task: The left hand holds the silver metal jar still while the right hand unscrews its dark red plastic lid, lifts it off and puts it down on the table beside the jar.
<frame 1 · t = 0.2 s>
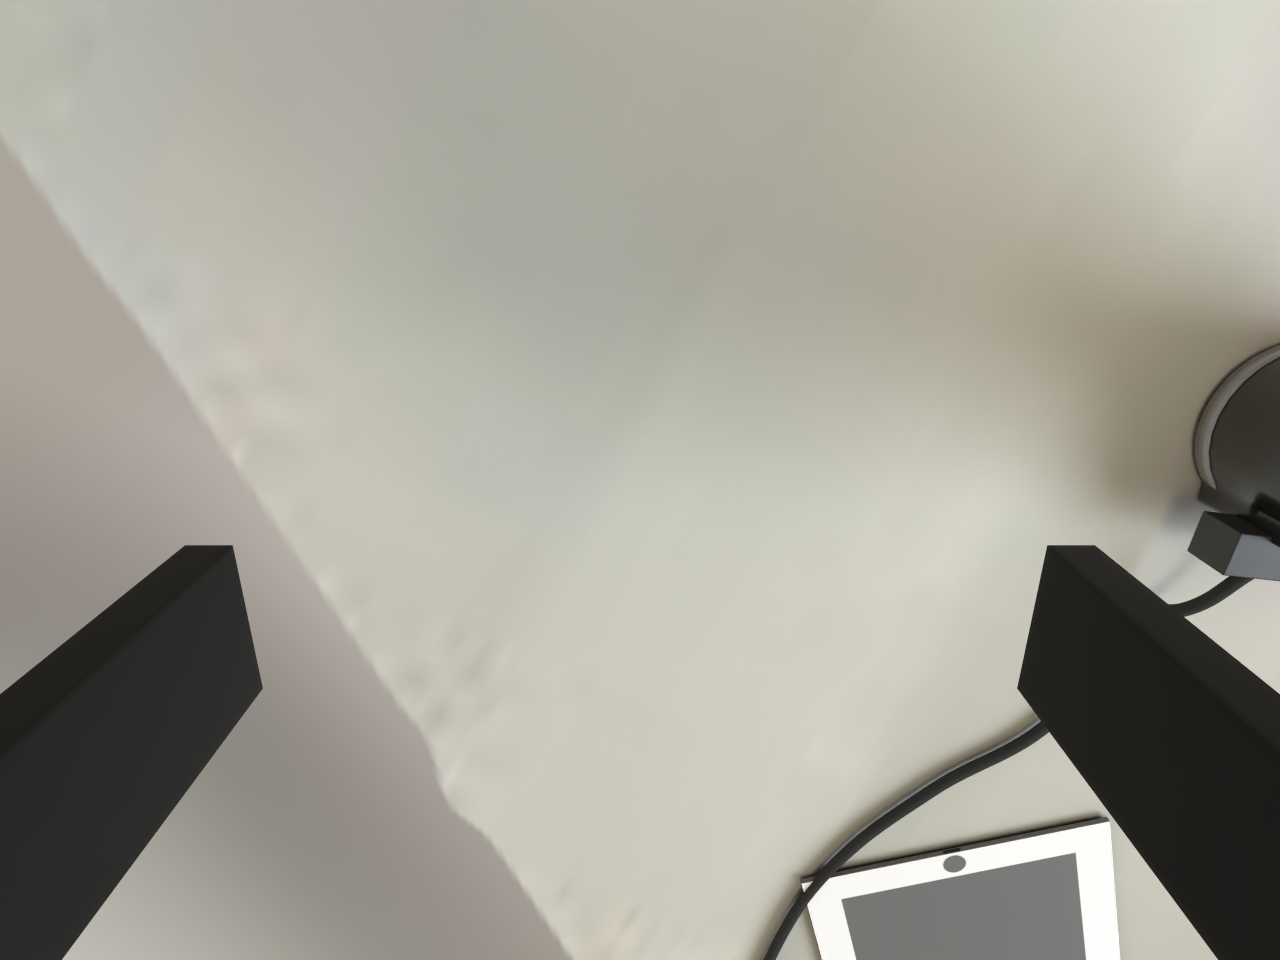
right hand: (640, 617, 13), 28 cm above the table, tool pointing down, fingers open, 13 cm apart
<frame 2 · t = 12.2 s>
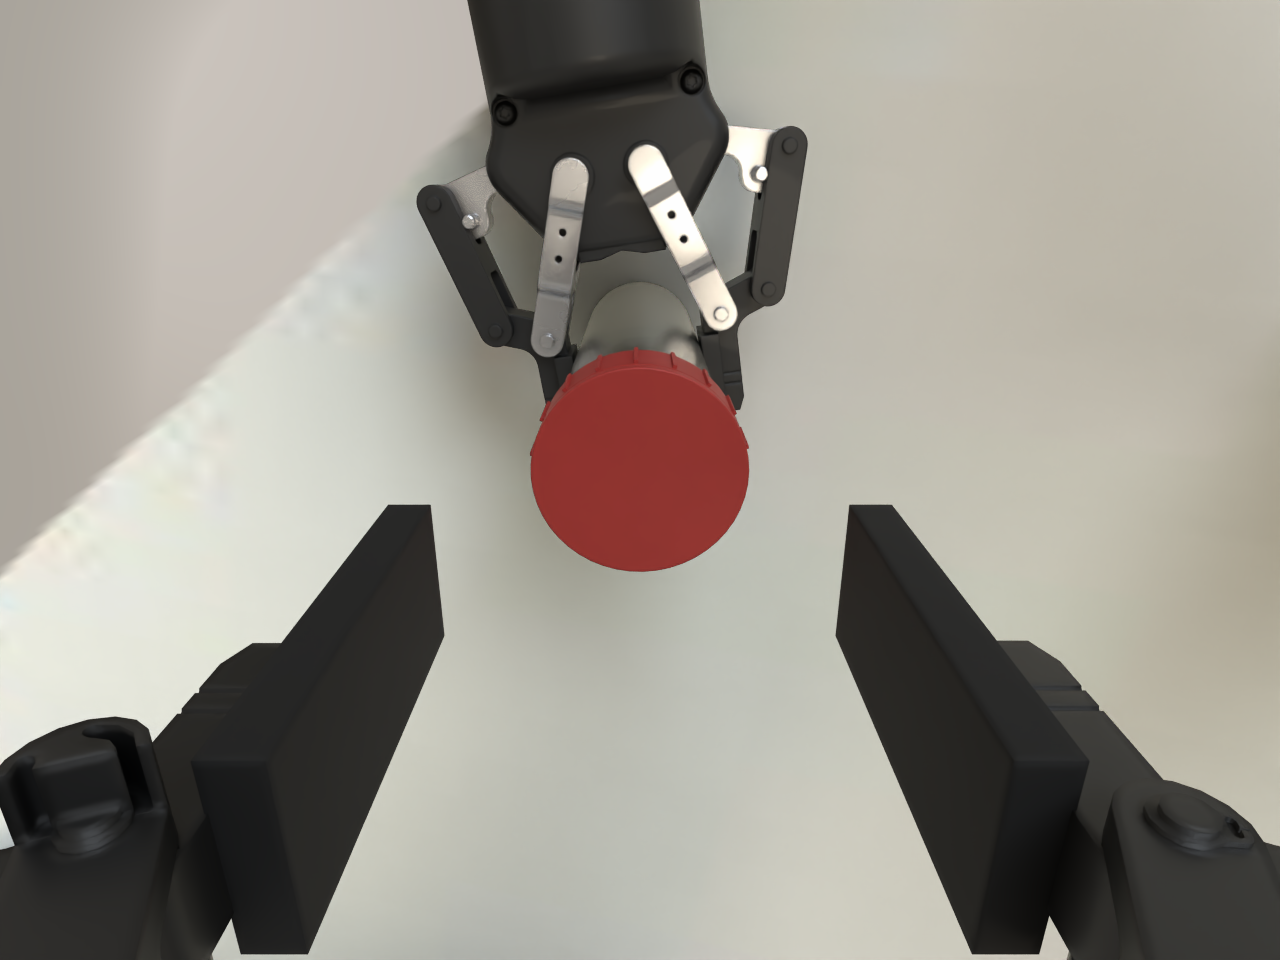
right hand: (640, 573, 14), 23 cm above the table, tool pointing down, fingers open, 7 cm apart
left hand: (650, 429, 31), fingers closed on jar, 5 cm apart
lid: (639, 470, 19), point 18 cm above the table, screwed on, not yet turned
jar: (639, 335, 36), on the table, touching left hand
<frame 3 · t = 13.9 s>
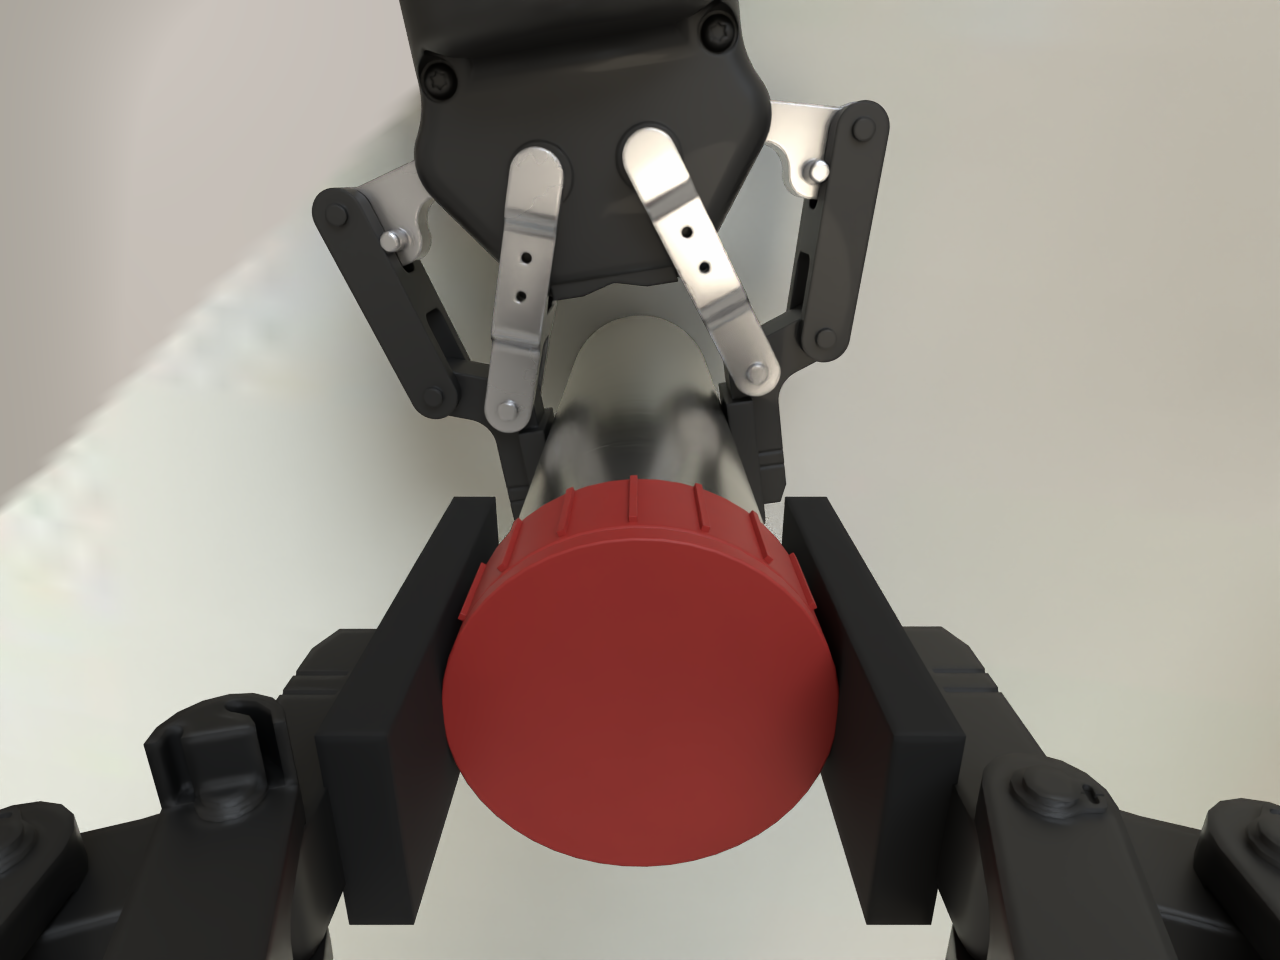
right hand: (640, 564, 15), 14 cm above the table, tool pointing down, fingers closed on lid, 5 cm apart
left hand: (654, 525, 22), fingers closed on jar, 5 cm apart
lid: (640, 702, 11), point 18 cm above the table, screwed on, not yet turned, touching right hand
jar: (640, 384, 27), on the table, touching left hand
when the right hand's fingers open (14 cm above the table, at t = 15.1 s): lid stays where it is, point 18 cm above the table.
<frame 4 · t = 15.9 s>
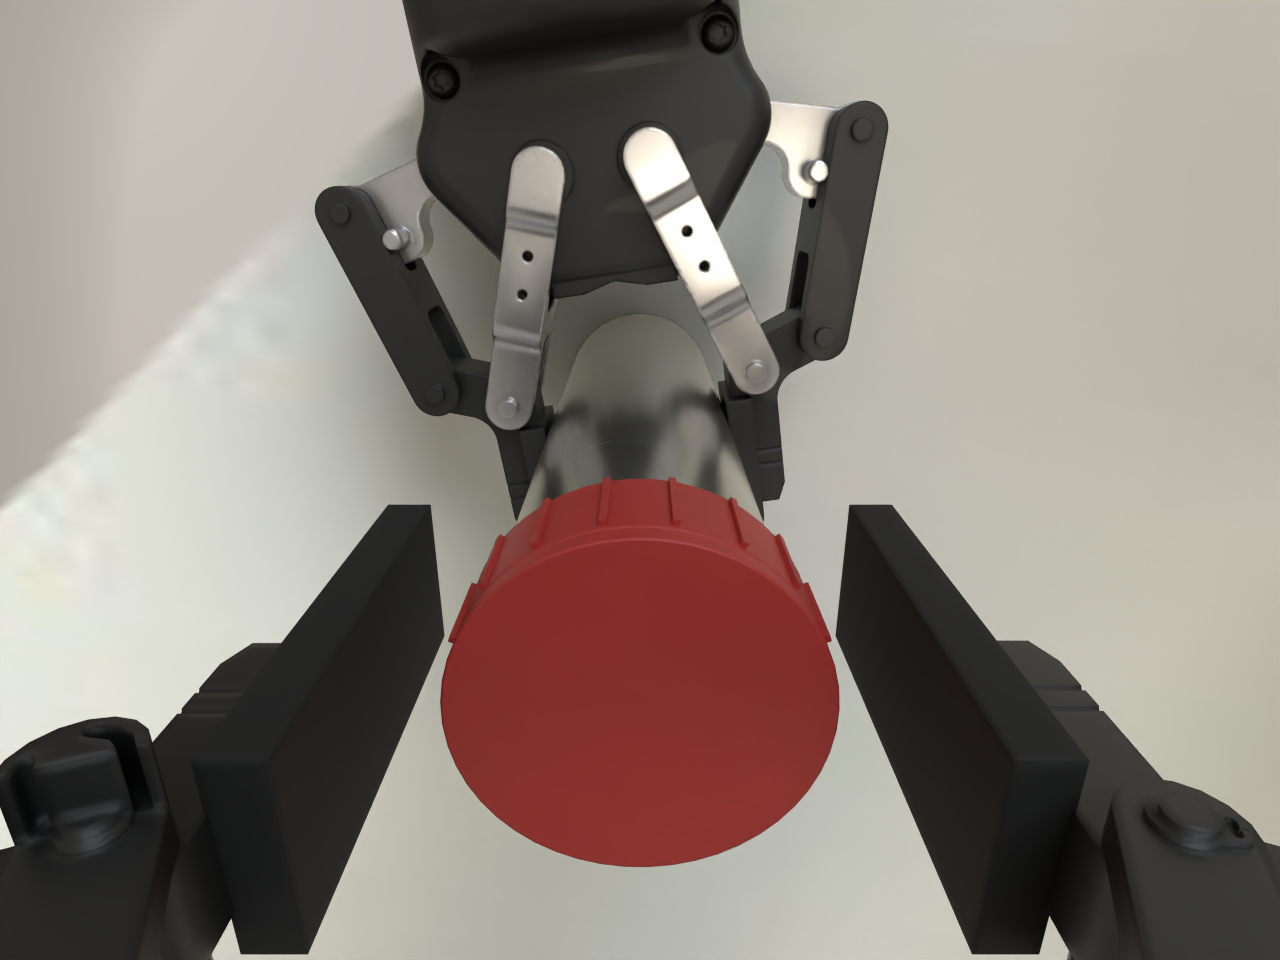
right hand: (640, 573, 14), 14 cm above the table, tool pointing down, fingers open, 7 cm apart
left hand: (654, 522, 23), fingers closed on jar, 5 cm apart
lid: (639, 702, 11), point 18 cm above the table, turned 68° so far, risen 0.2 cm, still on its thread
jar: (640, 382, 28), on the table, touching left hand
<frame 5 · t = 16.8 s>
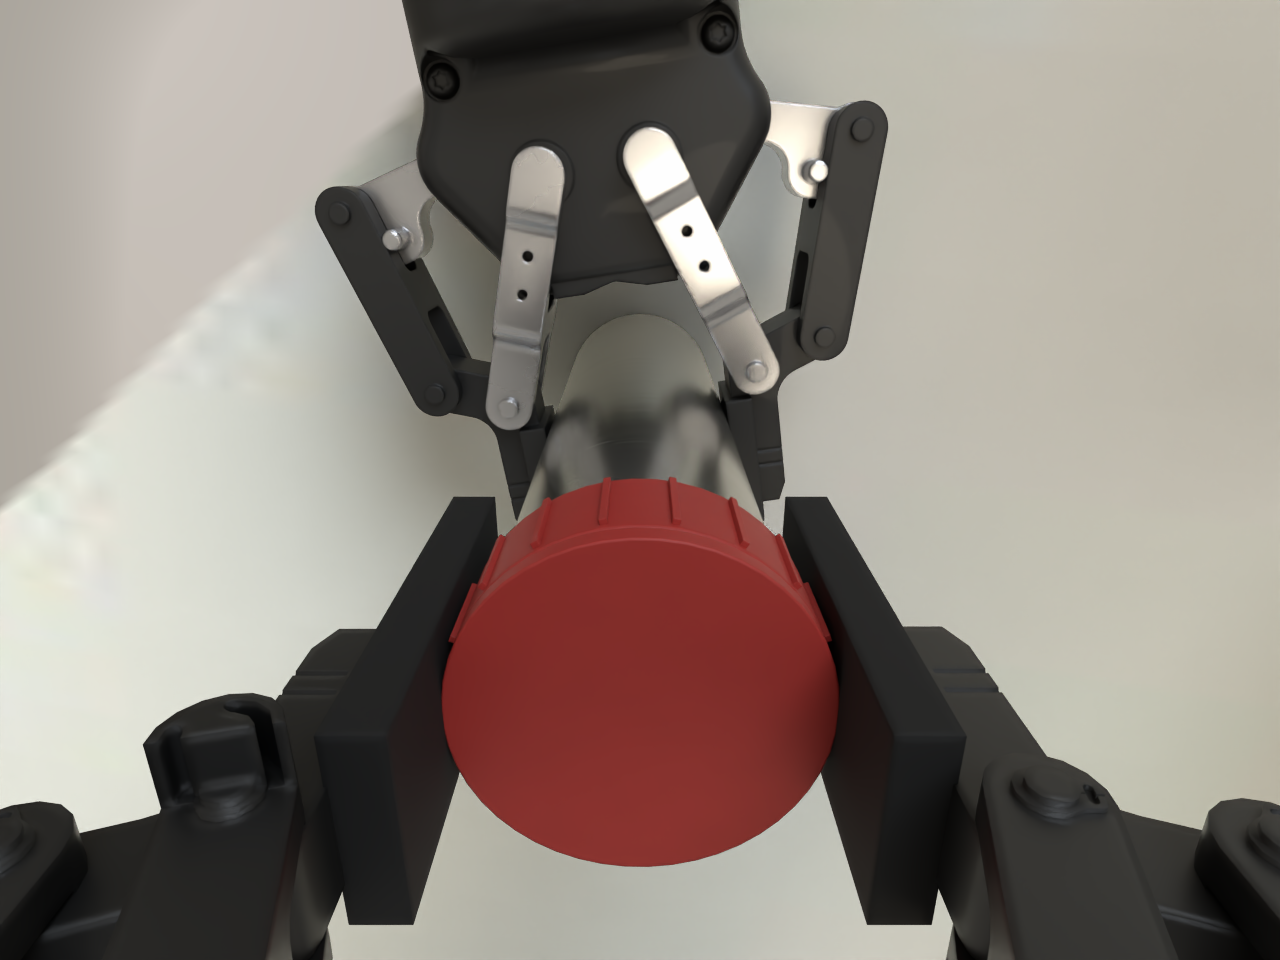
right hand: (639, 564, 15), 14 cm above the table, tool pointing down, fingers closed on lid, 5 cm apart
left hand: (654, 522, 23), fingers closed on jar, 5 cm apart
lid: (640, 702, 11), point 18 cm above the table, turned 68° so far, risen 0.2 cm, still on its thread, touching right hand
jar: (640, 382, 28), on the table, touching left hand
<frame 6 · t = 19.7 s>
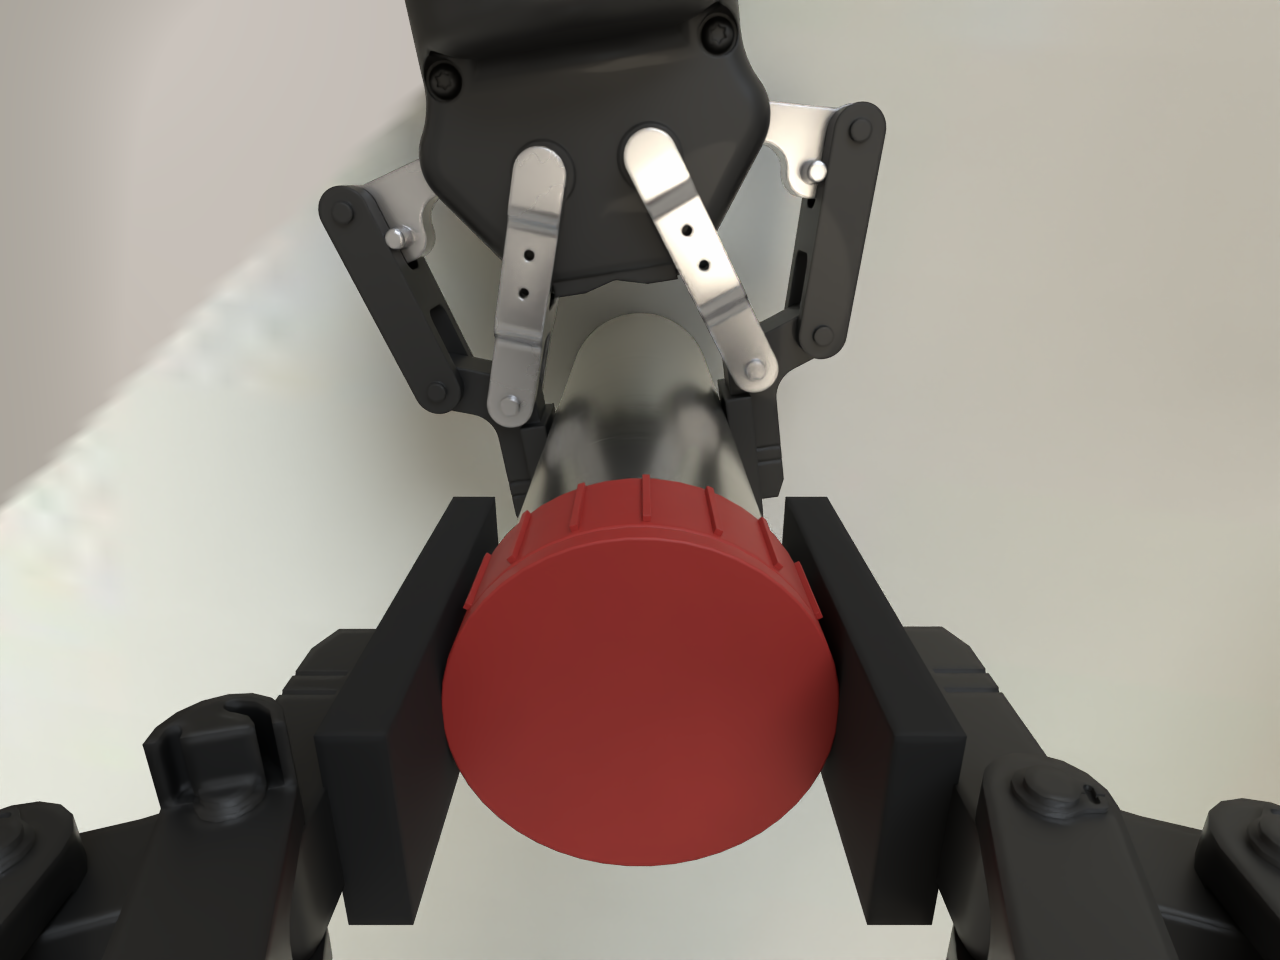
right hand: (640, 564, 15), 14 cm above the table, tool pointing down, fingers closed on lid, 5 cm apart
left hand: (654, 519, 23), fingers closed on jar, 5 cm apart
lid: (640, 701, 11), point 18 cm above the table, turned 136° so far, risen 0.4 cm, still on its thread, touching right hand
jar: (640, 381, 28), on the table, touching left hand
when the right hand's fingers open (0 cm above the table, at t = 26.4 s): lid stays where it is, point 2 cm above the table.
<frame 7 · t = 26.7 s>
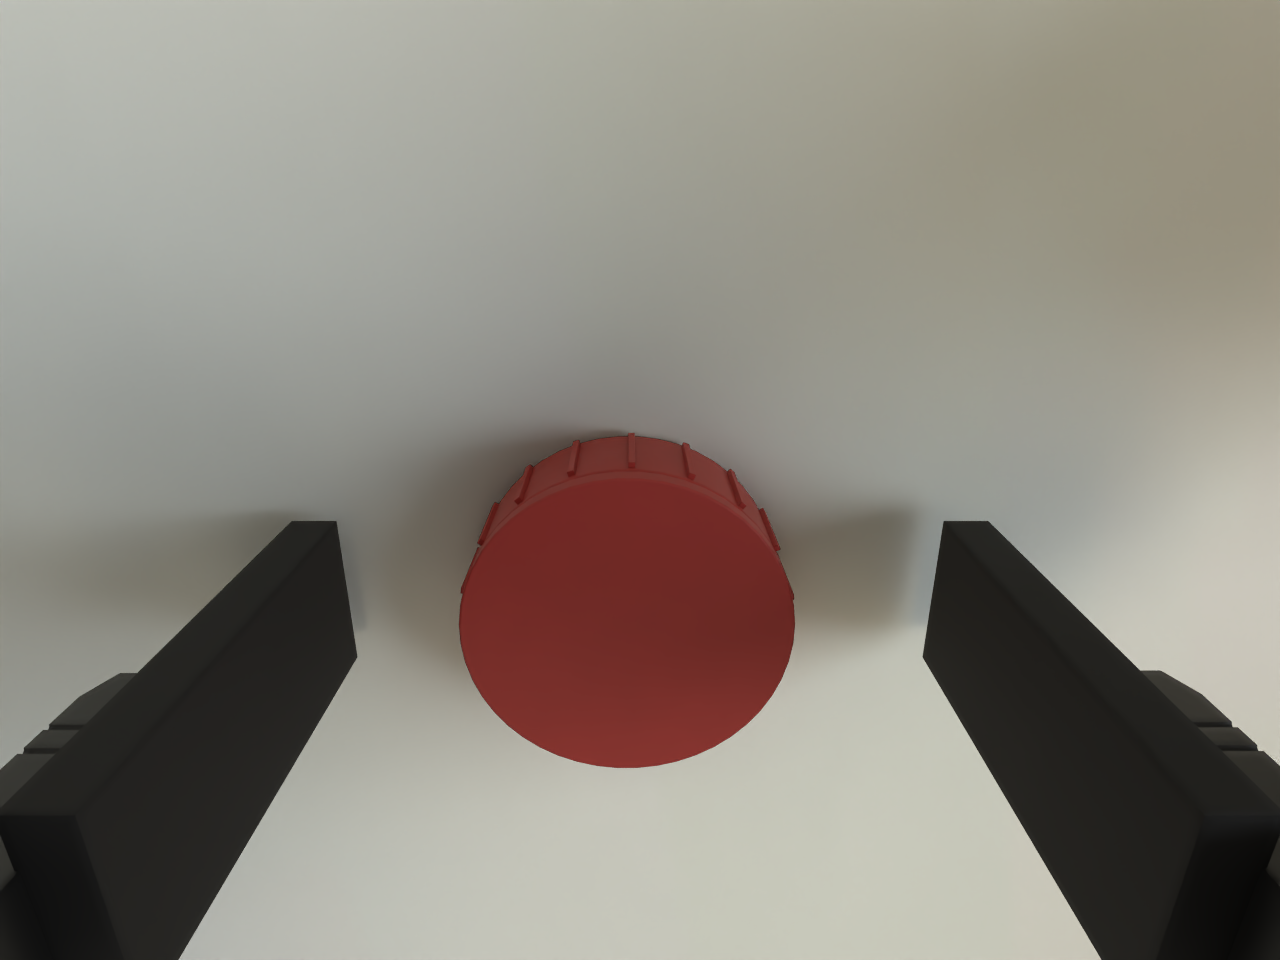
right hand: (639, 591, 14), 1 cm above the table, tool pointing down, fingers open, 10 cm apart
lid: (627, 623, 13), point 2 cm above the table, off its thread
when the left hand's fingers open (6 cm above the table, at t = 27.5 s): jar stays where it is, on the table.
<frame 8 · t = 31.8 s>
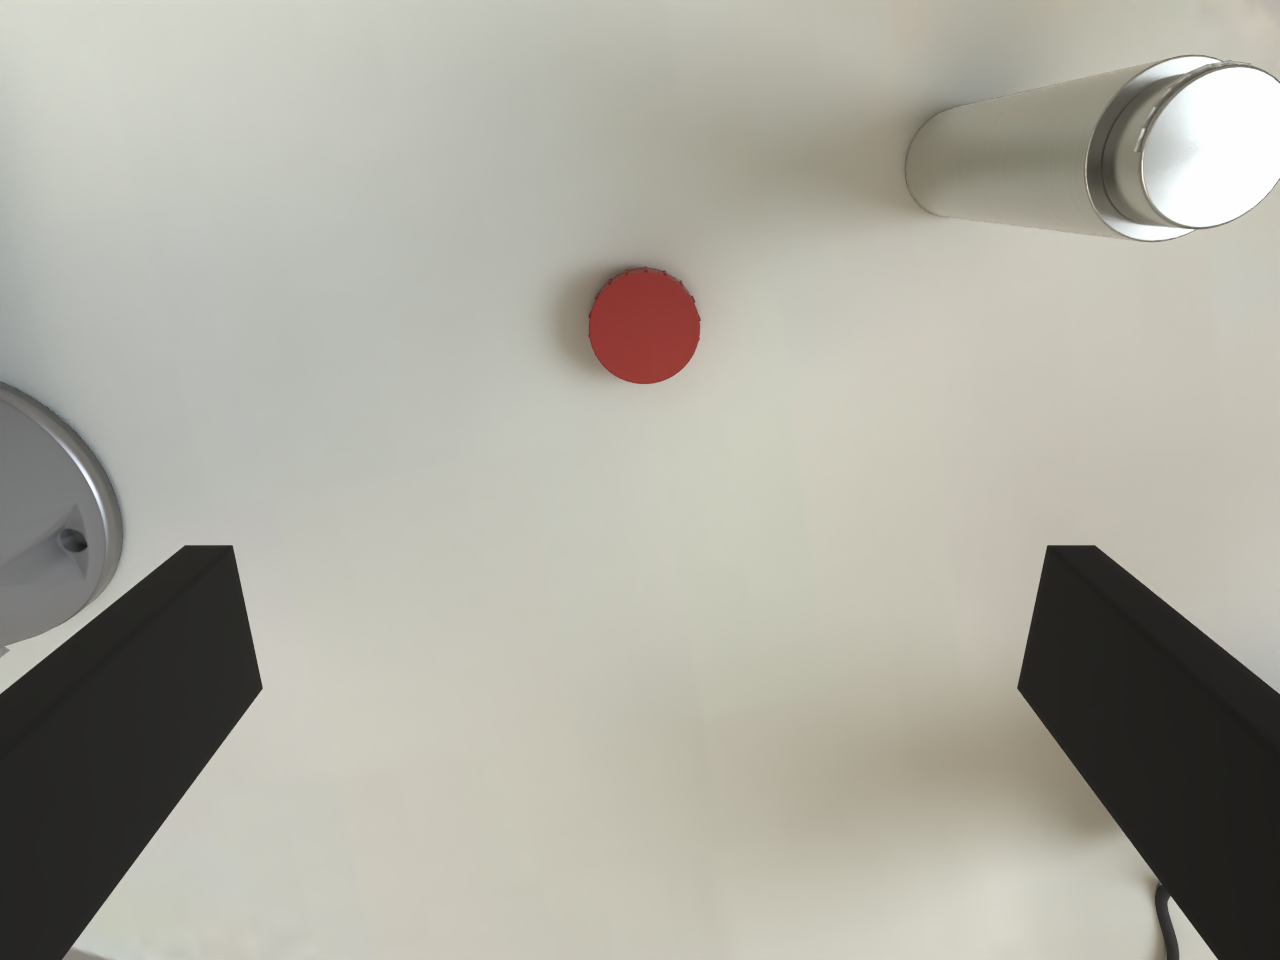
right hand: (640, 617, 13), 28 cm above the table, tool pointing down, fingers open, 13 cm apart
lid: (644, 328, 38), point 2 cm above the table, off its thread
jar: (956, 163, 37), on the table
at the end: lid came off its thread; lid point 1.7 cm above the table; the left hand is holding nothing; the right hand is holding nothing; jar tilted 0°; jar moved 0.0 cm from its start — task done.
